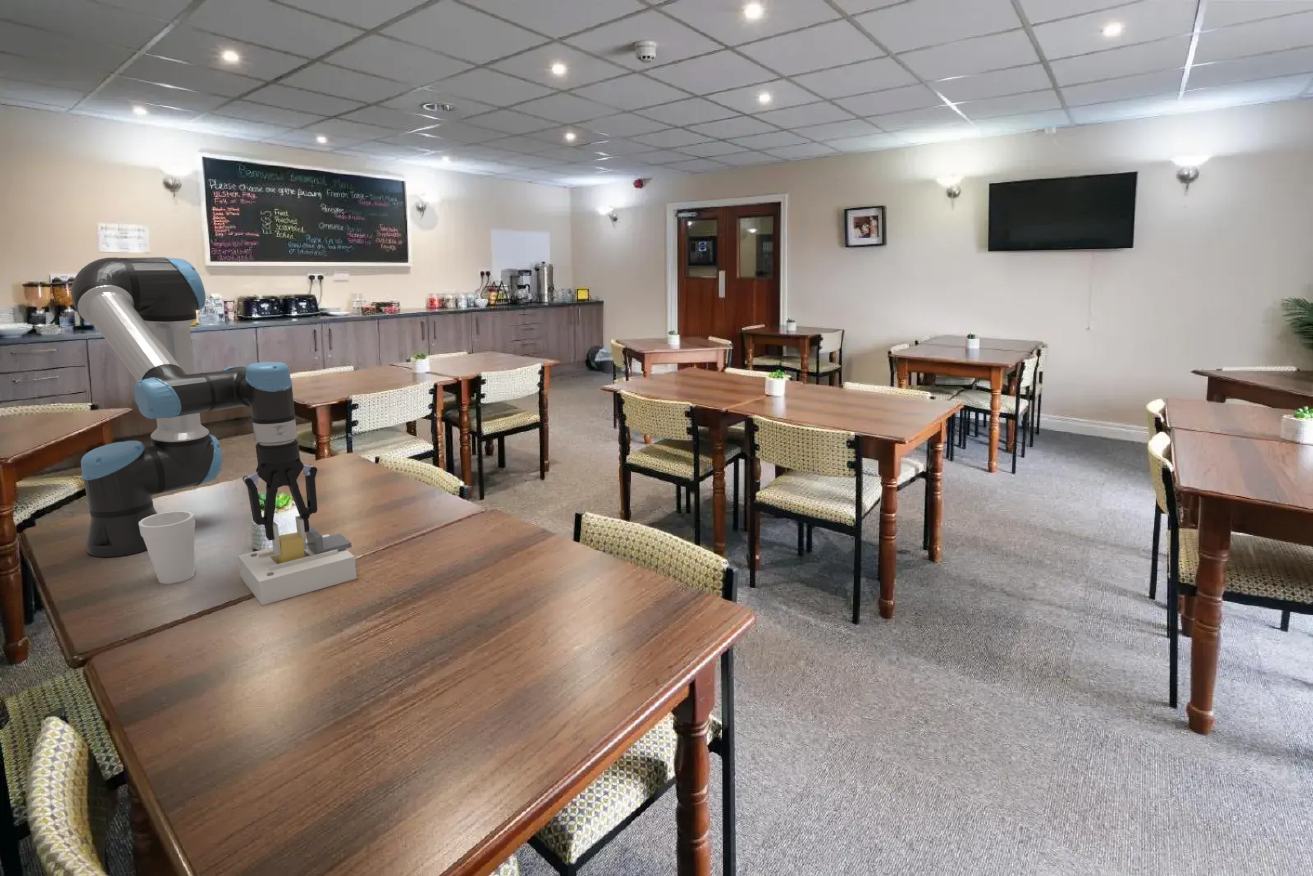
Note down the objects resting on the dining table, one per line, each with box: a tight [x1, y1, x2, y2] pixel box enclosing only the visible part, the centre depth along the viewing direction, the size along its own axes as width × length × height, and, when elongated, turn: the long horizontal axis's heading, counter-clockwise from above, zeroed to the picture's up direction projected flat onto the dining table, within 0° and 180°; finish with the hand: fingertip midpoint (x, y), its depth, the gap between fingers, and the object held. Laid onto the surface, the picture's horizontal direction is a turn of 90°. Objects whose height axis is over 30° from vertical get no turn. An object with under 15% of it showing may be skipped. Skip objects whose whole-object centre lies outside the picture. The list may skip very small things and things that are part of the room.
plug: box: [277, 531, 304, 564], centre depth 146 cm, size 4×4×8 cm
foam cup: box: [138, 510, 197, 585], centre depth 146 cm, size 10×9×13 cm
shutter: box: [305, 526, 352, 554], centre depth 151 cm, size 7×7×4 cm
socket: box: [237, 533, 357, 606], centre depth 148 cm, size 16×18×6 cm
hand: (290, 550), depth 146 cm, fingers closed on plug, 4 cm apart
